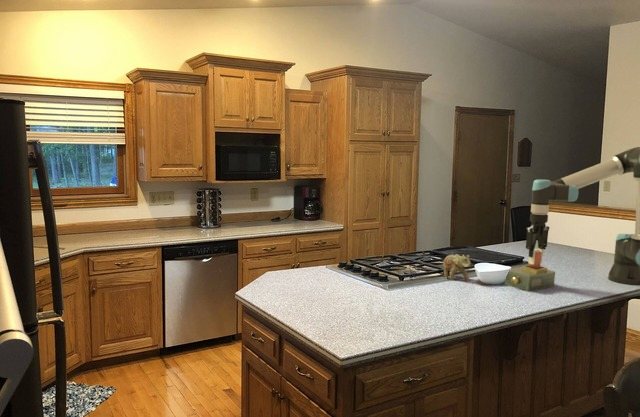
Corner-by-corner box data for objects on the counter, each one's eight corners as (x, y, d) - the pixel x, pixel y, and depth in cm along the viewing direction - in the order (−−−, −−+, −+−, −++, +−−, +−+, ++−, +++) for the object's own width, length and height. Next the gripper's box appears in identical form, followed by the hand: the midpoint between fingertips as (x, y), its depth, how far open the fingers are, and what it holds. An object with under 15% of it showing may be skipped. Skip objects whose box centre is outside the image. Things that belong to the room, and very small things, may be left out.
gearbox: (530, 279, 257) (531, 262, 255) (554, 286, 245) (556, 268, 244) (501, 284, 246) (503, 267, 245) (526, 292, 235) (527, 273, 234)
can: (533, 266, 250) (535, 248, 249) (541, 269, 246) (543, 250, 245) (527, 267, 248) (528, 249, 246) (535, 270, 244) (537, 251, 243)
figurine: (451, 290, 249) (455, 259, 242) (436, 274, 263) (439, 244, 256) (471, 287, 251) (475, 257, 245) (455, 272, 265) (459, 242, 259)
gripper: (544, 211, 251) (540, 259, 254) (519, 213, 242) (515, 263, 245) (558, 213, 245) (554, 263, 248) (533, 215, 236) (529, 267, 239)
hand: (535, 263), depth 247 cm, fingers closed on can, 4 cm apart
